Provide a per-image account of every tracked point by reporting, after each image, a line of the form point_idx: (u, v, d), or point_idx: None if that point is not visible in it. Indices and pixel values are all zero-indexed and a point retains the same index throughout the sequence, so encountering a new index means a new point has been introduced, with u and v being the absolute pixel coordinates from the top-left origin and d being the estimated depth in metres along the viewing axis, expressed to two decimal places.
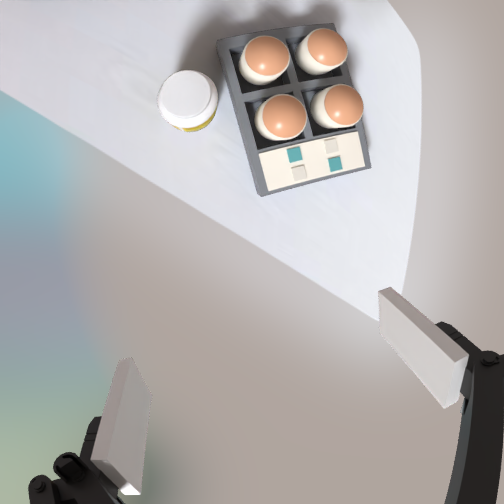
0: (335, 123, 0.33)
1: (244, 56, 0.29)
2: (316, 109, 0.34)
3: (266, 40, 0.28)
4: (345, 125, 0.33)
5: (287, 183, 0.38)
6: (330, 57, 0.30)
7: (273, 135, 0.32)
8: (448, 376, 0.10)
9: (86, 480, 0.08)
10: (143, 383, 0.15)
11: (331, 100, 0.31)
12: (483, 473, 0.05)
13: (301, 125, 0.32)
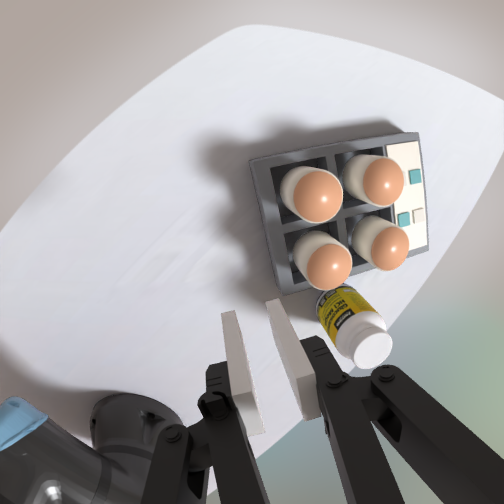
0: None
1: None
2: None
3: (312, 269, 0.30)
4: None
5: (424, 227, 0.36)
6: (332, 195, 0.28)
7: None
8: None
9: (227, 421, 0.10)
10: None
11: (380, 198, 0.29)
12: (378, 491, 0.06)
13: (401, 232, 0.31)
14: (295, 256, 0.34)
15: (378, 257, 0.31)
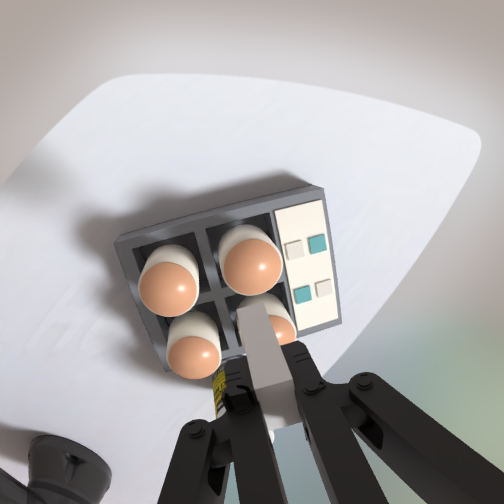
0: (278, 277, 0.27)
1: None
2: None
3: (174, 360, 0.27)
4: (281, 264, 0.26)
5: (333, 299, 0.33)
6: (184, 287, 0.25)
7: None
8: None
9: (250, 415, 0.10)
10: None
11: (248, 286, 0.26)
12: (362, 496, 0.06)
13: (281, 321, 0.28)
14: None
15: None
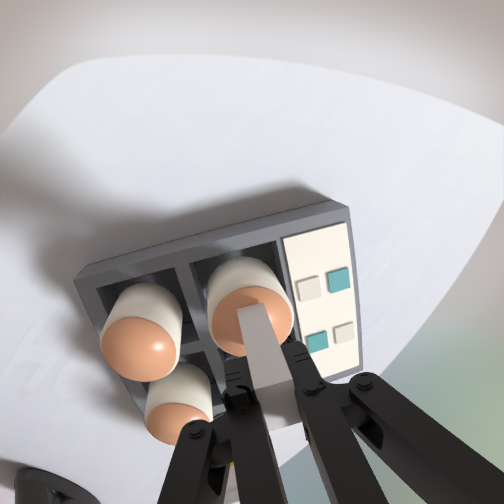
0: (287, 334, 0.19)
1: None
2: None
3: (154, 427, 0.20)
4: (291, 318, 0.19)
5: (354, 345, 0.25)
6: (159, 349, 0.18)
7: None
8: None
9: (250, 415, 0.10)
10: None
11: None
12: (362, 496, 0.06)
13: None
14: None
15: None
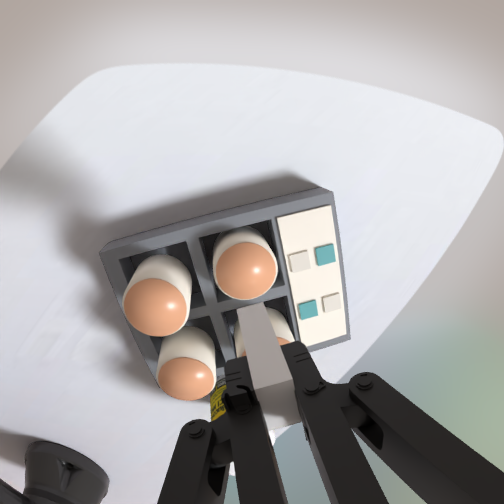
0: (273, 282, 0.26)
1: None
2: None
3: (164, 381, 0.24)
4: (276, 268, 0.25)
5: (341, 314, 0.30)
6: (172, 306, 0.22)
7: None
8: None
9: (250, 415, 0.10)
10: None
11: (241, 291, 0.25)
12: (362, 497, 0.06)
13: (282, 343, 0.24)
14: None
15: None
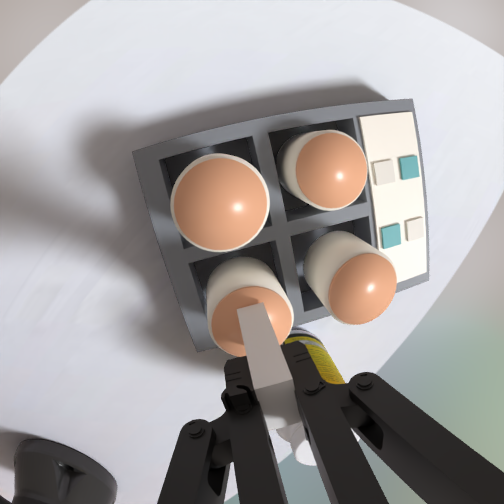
0: None
1: None
2: None
3: (220, 327, 0.18)
4: None
5: (423, 246, 0.23)
6: (247, 200, 0.16)
7: None
8: None
9: (250, 415, 0.10)
10: None
11: (326, 196, 0.19)
12: (362, 497, 0.06)
13: (382, 262, 0.18)
14: None
15: (341, 305, 0.19)
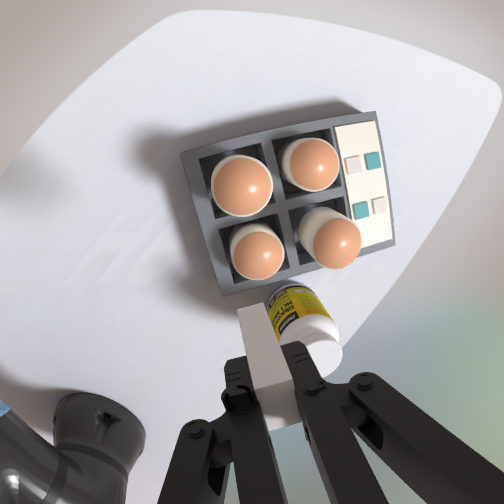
0: (335, 176, 0.29)
1: (259, 279, 0.31)
2: None
3: (239, 258, 0.30)
4: None
5: (388, 218, 0.33)
6: (259, 184, 0.26)
7: (356, 255, 0.29)
8: None
9: (250, 415, 0.10)
10: None
11: (311, 181, 0.29)
12: (362, 497, 0.06)
13: (349, 224, 0.28)
14: (229, 245, 0.33)
15: (322, 253, 0.28)
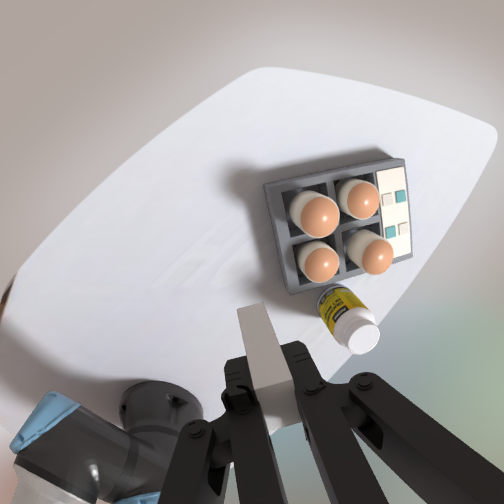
0: (376, 208, 0.40)
1: (321, 281, 0.42)
2: None
3: (309, 266, 0.41)
4: None
5: (408, 237, 0.44)
6: (331, 215, 0.36)
7: (389, 265, 0.40)
8: None
9: (250, 415, 0.10)
10: None
11: (360, 212, 0.40)
12: (362, 496, 0.06)
13: (386, 244, 0.39)
14: (296, 257, 0.44)
15: (367, 264, 0.39)
